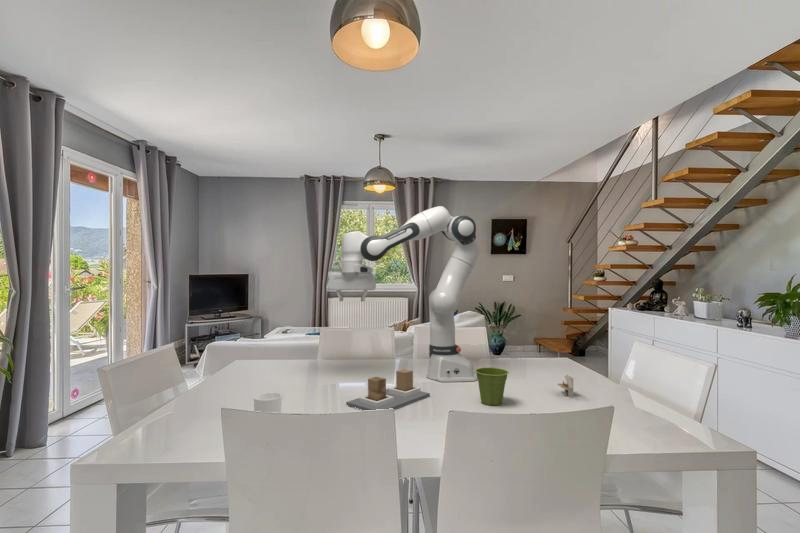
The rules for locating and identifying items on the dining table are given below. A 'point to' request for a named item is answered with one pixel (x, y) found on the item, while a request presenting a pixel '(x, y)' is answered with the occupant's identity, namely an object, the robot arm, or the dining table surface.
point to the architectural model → (568, 386)
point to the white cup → (268, 402)
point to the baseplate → (393, 394)
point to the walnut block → (377, 388)
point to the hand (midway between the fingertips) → (352, 301)
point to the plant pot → (491, 384)
